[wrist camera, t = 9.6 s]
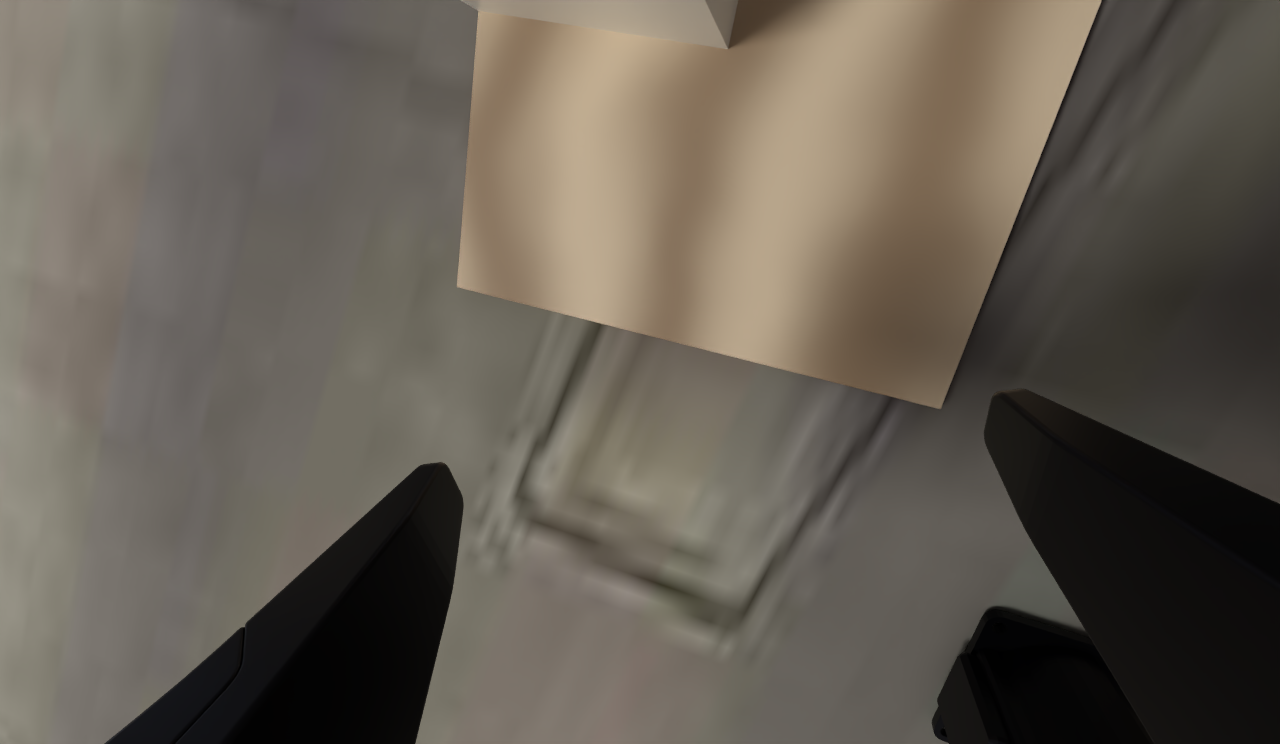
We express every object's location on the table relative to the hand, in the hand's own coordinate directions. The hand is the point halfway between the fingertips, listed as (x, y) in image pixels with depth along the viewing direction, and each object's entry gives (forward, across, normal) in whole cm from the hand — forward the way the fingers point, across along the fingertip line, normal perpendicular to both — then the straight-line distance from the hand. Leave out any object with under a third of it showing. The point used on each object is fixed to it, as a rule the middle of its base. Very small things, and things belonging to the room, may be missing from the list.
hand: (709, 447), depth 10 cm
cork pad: (+14, -3, -3) cm, 15 cm away
